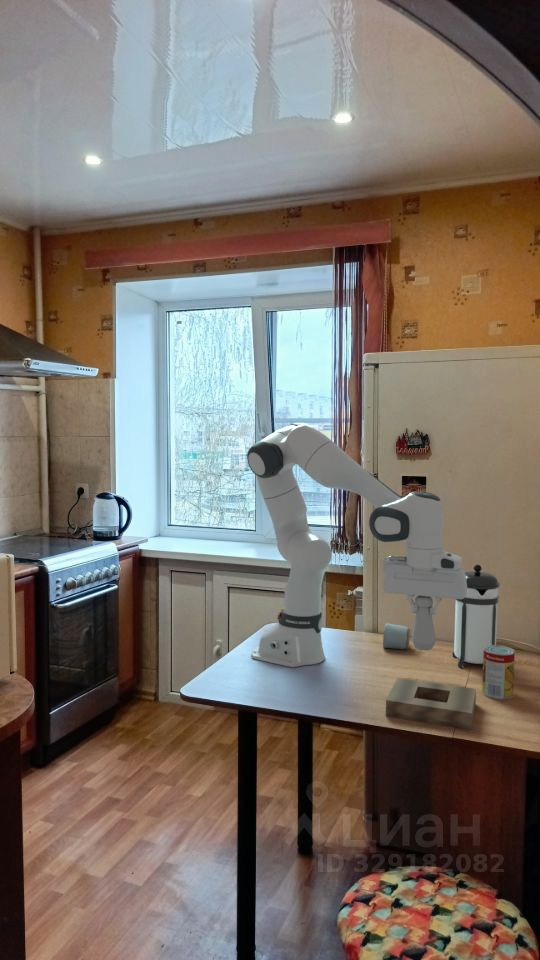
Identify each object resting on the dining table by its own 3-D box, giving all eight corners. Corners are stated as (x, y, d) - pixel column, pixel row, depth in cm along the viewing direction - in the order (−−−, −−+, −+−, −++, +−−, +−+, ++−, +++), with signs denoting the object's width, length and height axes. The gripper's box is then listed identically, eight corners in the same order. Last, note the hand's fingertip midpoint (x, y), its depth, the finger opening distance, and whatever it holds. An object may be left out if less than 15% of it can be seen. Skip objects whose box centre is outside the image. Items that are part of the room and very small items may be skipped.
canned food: (514, 691, 179) (515, 647, 178) (511, 701, 172) (513, 656, 171) (483, 686, 182) (485, 643, 182) (480, 696, 175) (481, 651, 174)
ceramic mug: (408, 652, 210) (409, 628, 209) (382, 650, 212) (383, 626, 211) (410, 643, 220) (411, 620, 219) (385, 641, 222) (386, 618, 221)
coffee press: (513, 664, 200) (516, 565, 198) (478, 675, 191) (482, 571, 189) (466, 648, 214) (469, 556, 212) (432, 657, 205) (435, 561, 203)
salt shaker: (436, 652, 162) (436, 599, 161) (412, 651, 163) (412, 598, 162) (434, 644, 168) (435, 593, 167) (411, 643, 169) (411, 593, 168)
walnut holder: (385, 716, 162) (386, 700, 162) (397, 692, 177) (397, 677, 177) (471, 729, 155) (471, 713, 155) (475, 704, 170) (476, 688, 170)
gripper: (379, 557, 164) (379, 612, 165) (465, 563, 157) (465, 620, 158) (385, 553, 170) (385, 606, 171) (468, 558, 162) (467, 613, 164)
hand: (424, 613), depth 164 cm, fingers closed on salt shaker, 3 cm apart
